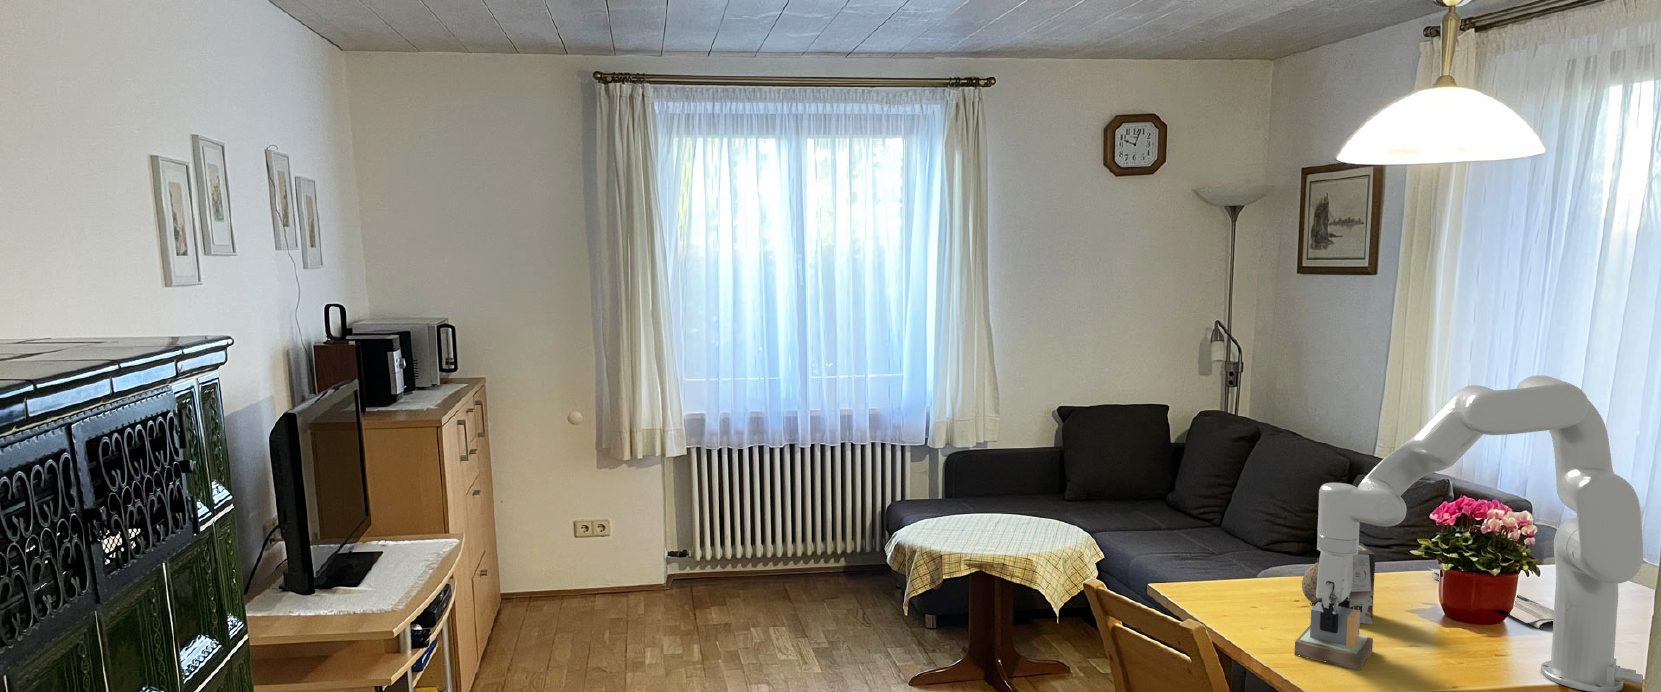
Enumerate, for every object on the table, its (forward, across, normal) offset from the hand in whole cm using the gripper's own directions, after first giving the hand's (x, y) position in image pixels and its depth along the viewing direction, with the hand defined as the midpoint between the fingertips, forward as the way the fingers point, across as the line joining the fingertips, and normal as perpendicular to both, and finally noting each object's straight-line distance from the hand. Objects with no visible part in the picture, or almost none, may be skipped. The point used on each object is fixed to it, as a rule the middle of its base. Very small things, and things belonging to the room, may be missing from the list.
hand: (1334, 624), depth 201 cm
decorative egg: (+6, -29, -10) cm, 31 cm away
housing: (+3, 0, 0) cm, 3 cm away
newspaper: (+7, -57, +22) cm, 61 cm away
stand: (+6, 0, 0) cm, 6 cm away
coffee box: (+6, -25, -2) cm, 26 cm away
